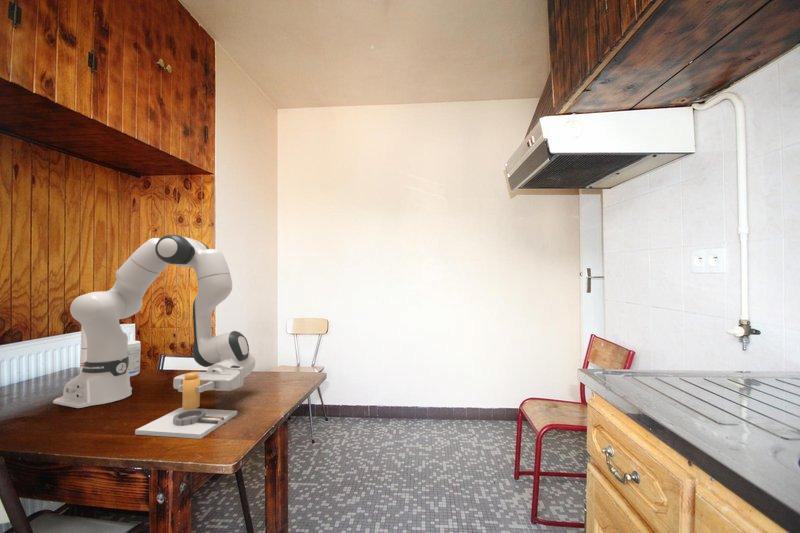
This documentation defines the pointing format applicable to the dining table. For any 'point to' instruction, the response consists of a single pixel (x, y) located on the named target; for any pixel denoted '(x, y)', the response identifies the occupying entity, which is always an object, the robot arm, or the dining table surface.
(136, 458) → the dining table surface
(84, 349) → the cylindrical container
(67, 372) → the dining table surface
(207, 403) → the dining table surface
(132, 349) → the supplement tub
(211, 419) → the plate
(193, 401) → the tan capped bottle
